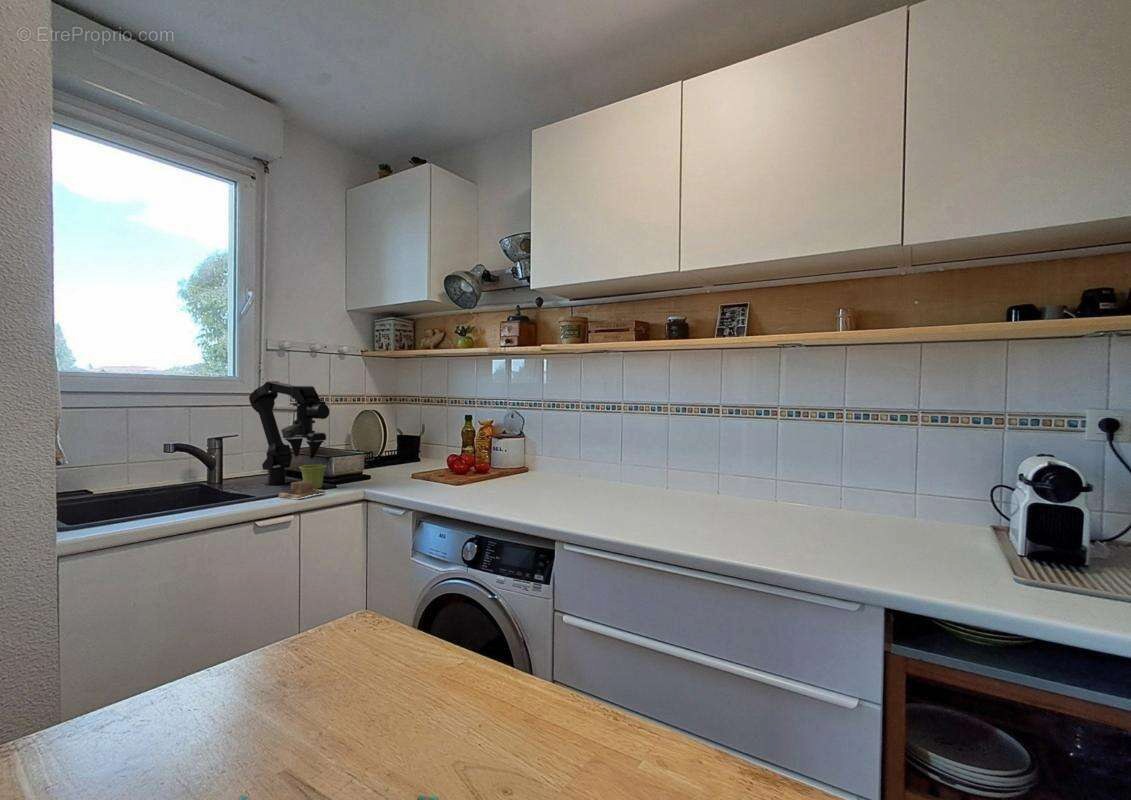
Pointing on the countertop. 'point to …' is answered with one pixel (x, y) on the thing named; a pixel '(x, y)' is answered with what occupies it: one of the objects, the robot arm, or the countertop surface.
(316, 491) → the oak bay
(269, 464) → the robot arm
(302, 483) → the walnut cube
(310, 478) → the plant pot
